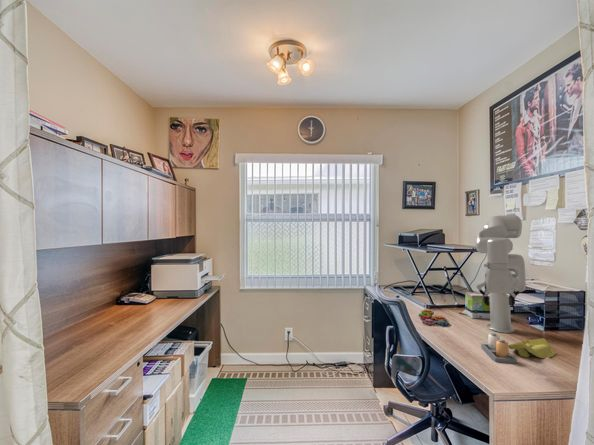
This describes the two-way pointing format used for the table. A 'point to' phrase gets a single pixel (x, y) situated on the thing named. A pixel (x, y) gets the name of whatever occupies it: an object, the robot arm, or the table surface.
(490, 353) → the housing
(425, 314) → the gear puzzle
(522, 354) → the plastic component
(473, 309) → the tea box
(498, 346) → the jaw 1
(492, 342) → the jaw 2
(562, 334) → the table surface
